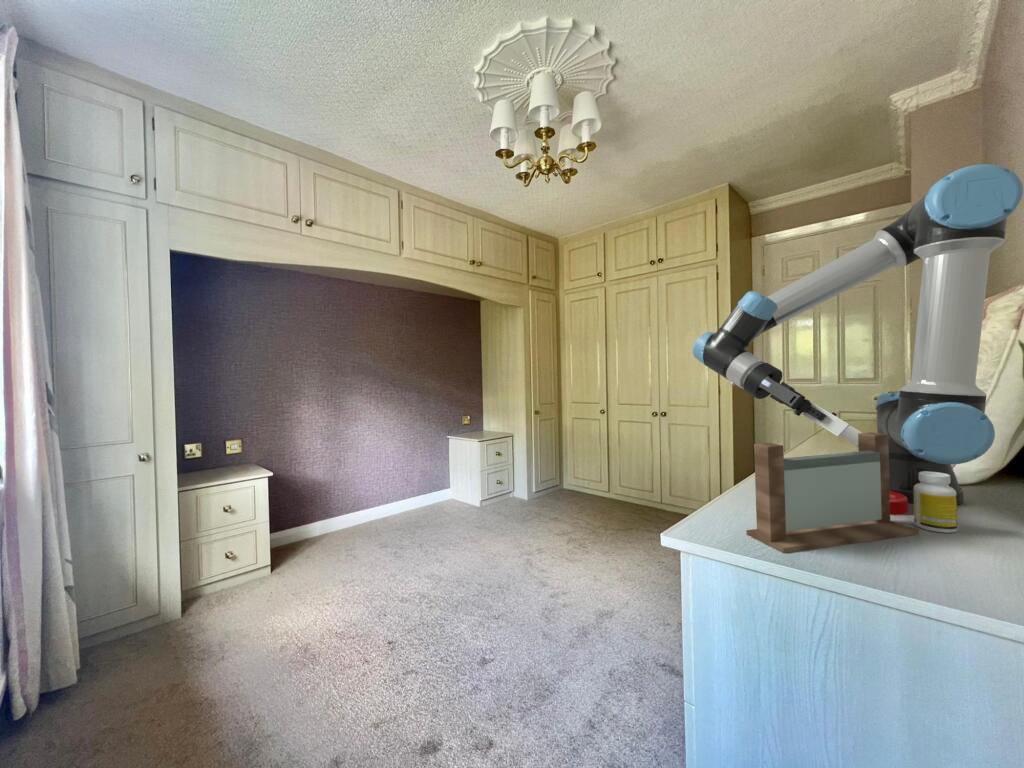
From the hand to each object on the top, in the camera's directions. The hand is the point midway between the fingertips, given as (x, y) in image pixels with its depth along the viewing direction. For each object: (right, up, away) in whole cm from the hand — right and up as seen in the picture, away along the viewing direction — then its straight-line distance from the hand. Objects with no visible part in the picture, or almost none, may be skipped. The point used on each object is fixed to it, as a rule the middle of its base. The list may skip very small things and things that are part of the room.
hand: (854, 436), depth 76 cm
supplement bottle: (+13, -16, -2) cm, 21 cm away
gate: (-7, -15, -3) cm, 17 cm away
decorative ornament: (+13, -16, +10) cm, 23 cm away
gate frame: (-6, -17, -3) cm, 18 cm away
